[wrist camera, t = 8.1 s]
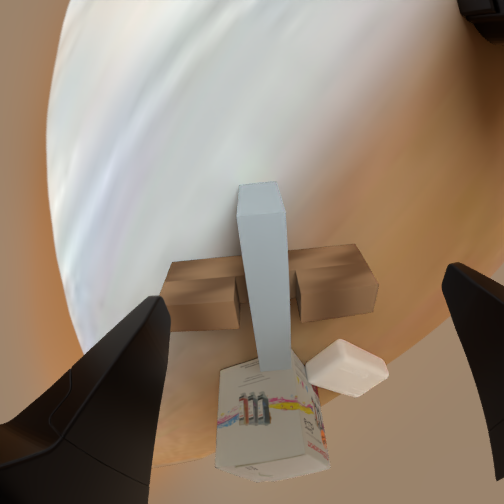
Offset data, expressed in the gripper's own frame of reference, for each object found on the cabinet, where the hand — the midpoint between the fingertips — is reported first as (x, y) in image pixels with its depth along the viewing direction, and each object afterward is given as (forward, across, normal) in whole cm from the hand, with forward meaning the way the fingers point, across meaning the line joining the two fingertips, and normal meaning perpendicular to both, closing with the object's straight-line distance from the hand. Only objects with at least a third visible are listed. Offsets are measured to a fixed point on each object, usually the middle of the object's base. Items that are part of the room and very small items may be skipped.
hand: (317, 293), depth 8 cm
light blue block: (+12, +2, +7) cm, 14 cm away
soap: (+12, -6, +21) cm, 25 cm away
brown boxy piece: (+12, +2, +7) cm, 14 cm away
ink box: (+12, +2, +22) cm, 25 cm away
